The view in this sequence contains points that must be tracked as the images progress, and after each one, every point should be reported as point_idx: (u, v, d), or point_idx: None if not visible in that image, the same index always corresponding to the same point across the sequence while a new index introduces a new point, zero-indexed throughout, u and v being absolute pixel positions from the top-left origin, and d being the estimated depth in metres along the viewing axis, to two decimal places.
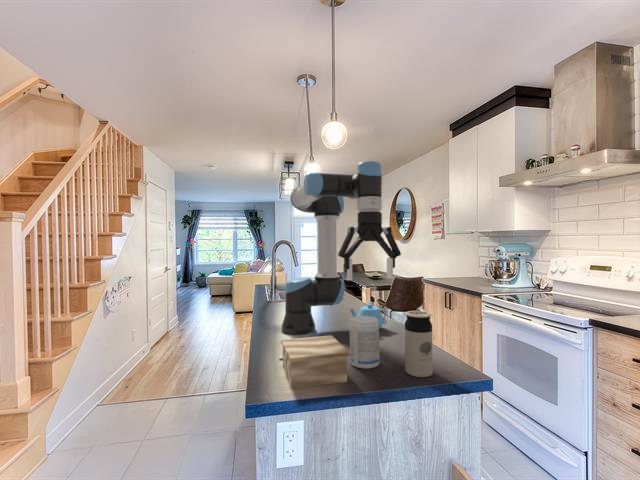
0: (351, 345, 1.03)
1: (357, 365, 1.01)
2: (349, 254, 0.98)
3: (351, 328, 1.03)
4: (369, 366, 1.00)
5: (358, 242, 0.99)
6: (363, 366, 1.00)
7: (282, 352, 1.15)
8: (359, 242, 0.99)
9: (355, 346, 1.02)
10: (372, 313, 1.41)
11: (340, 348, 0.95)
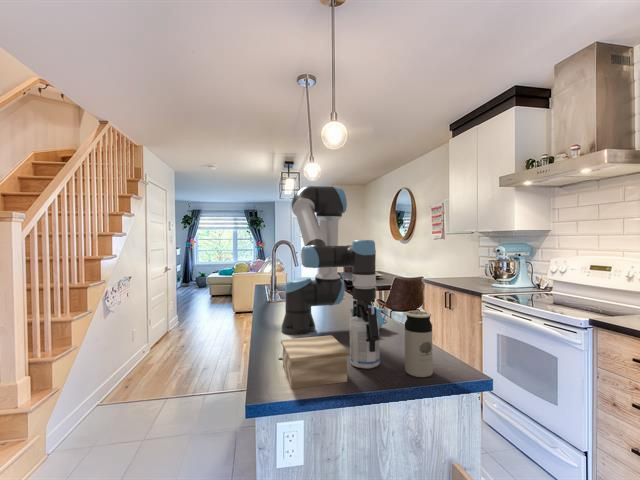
0: (351, 345, 1.03)
1: (357, 365, 1.01)
2: None
3: (351, 328, 1.03)
4: (369, 366, 1.00)
5: (356, 316, 1.08)
6: (363, 366, 1.00)
7: (282, 351, 1.15)
8: (357, 316, 1.08)
9: (354, 346, 1.02)
10: None
11: (340, 348, 0.95)
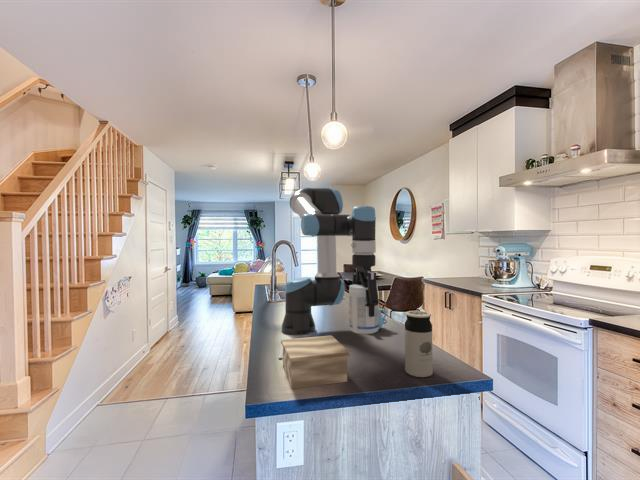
0: (350, 311, 1.04)
1: (356, 330, 1.01)
2: None
3: (351, 294, 1.03)
4: (368, 331, 1.01)
5: (356, 283, 1.08)
6: (362, 331, 1.01)
7: (282, 351, 1.15)
8: (356, 283, 1.08)
9: (354, 312, 1.02)
10: None
11: (340, 348, 0.95)
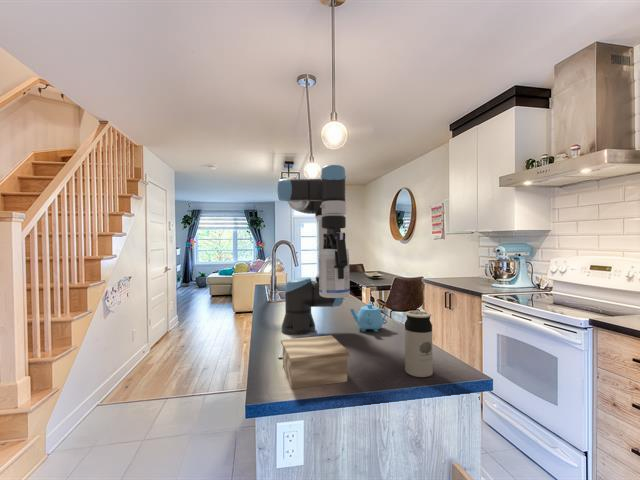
0: (320, 275, 0.99)
1: (325, 295, 0.96)
2: None
3: (320, 257, 0.98)
4: (338, 295, 0.96)
5: (326, 248, 1.03)
6: (332, 295, 0.96)
7: (281, 351, 1.16)
8: (326, 248, 1.03)
9: (323, 275, 0.97)
10: (372, 313, 1.41)
11: (340, 348, 0.95)
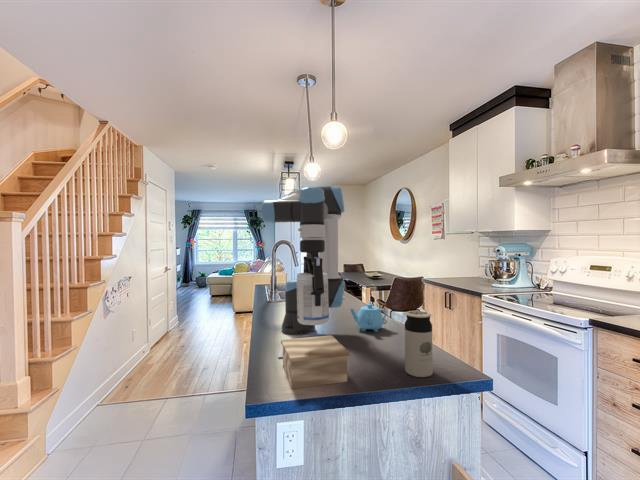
0: (297, 301, 0.96)
1: (303, 322, 0.93)
2: None
3: (297, 282, 0.95)
4: (315, 322, 0.93)
5: (306, 272, 1.00)
6: (309, 322, 0.93)
7: (281, 351, 1.16)
8: (306, 272, 1.00)
9: (300, 301, 0.94)
10: (372, 313, 1.41)
11: (340, 348, 0.95)
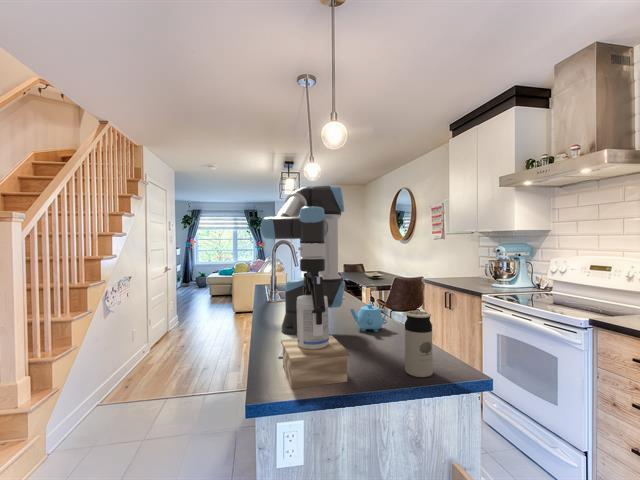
0: (297, 325, 0.96)
1: (303, 346, 0.94)
2: None
3: (297, 306, 0.96)
4: (315, 347, 0.93)
5: (306, 288, 1.01)
6: (309, 347, 0.93)
7: (281, 350, 1.16)
8: (306, 289, 1.01)
9: (300, 325, 0.94)
10: (372, 313, 1.41)
11: (340, 348, 0.95)
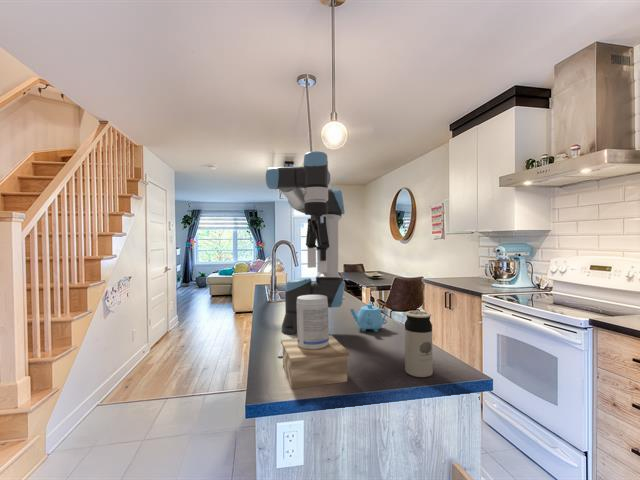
0: (297, 325, 0.96)
1: (303, 346, 0.94)
2: (307, 243, 1.08)
3: (297, 306, 0.96)
4: (315, 347, 0.93)
5: (309, 233, 1.05)
6: (309, 347, 0.93)
7: (281, 350, 1.17)
8: (309, 233, 1.05)
9: (300, 325, 0.94)
10: (372, 313, 1.41)
11: (340, 348, 0.95)
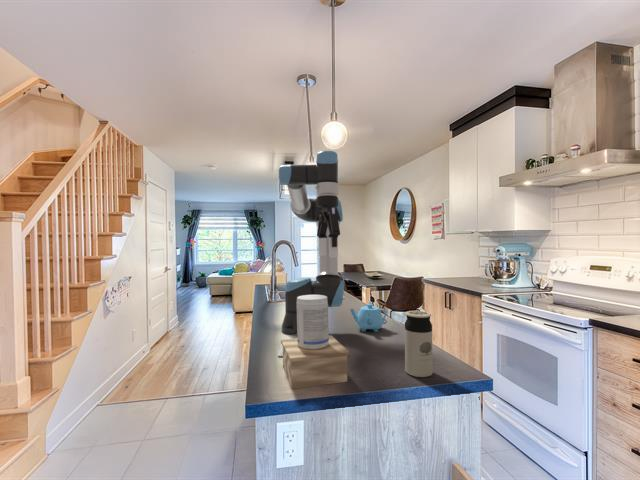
0: (297, 325, 0.96)
1: (303, 346, 0.94)
2: (319, 234, 1.20)
3: (297, 306, 0.96)
4: (315, 347, 0.93)
5: (321, 224, 1.17)
6: (309, 347, 0.93)
7: (281, 349, 1.17)
8: (321, 224, 1.17)
9: (300, 325, 0.94)
10: (372, 313, 1.41)
11: (340, 348, 0.95)
